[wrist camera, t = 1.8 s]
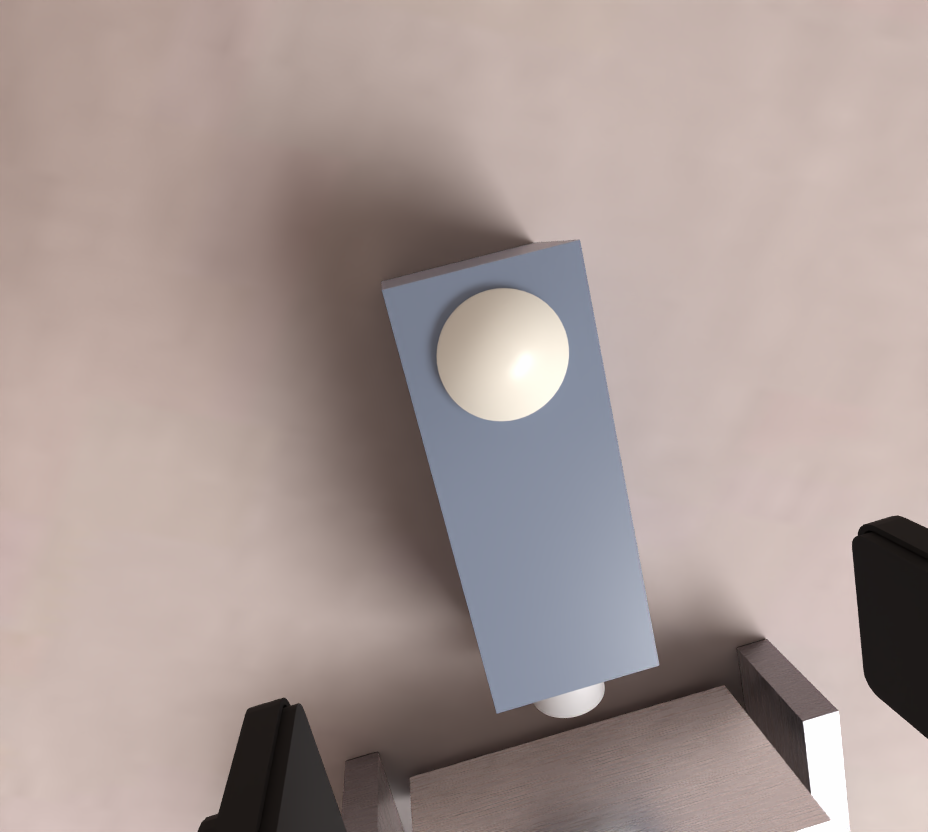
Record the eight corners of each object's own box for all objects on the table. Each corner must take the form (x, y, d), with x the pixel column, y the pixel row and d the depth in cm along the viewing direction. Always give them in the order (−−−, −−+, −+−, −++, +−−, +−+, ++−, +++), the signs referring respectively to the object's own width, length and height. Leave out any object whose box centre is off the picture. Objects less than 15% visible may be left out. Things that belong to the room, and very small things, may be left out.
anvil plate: (338, 798, 23) (324, 977, 18) (724, 685, 24) (831, 820, 18) (351, 832, 24) (341, 1018, 18) (729, 720, 25) (836, 863, 19)
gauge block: (532, 242, 20) (582, 239, 15) (611, 628, 24) (673, 727, 19) (381, 281, 20) (381, 290, 15) (485, 664, 24) (513, 775, 19)
